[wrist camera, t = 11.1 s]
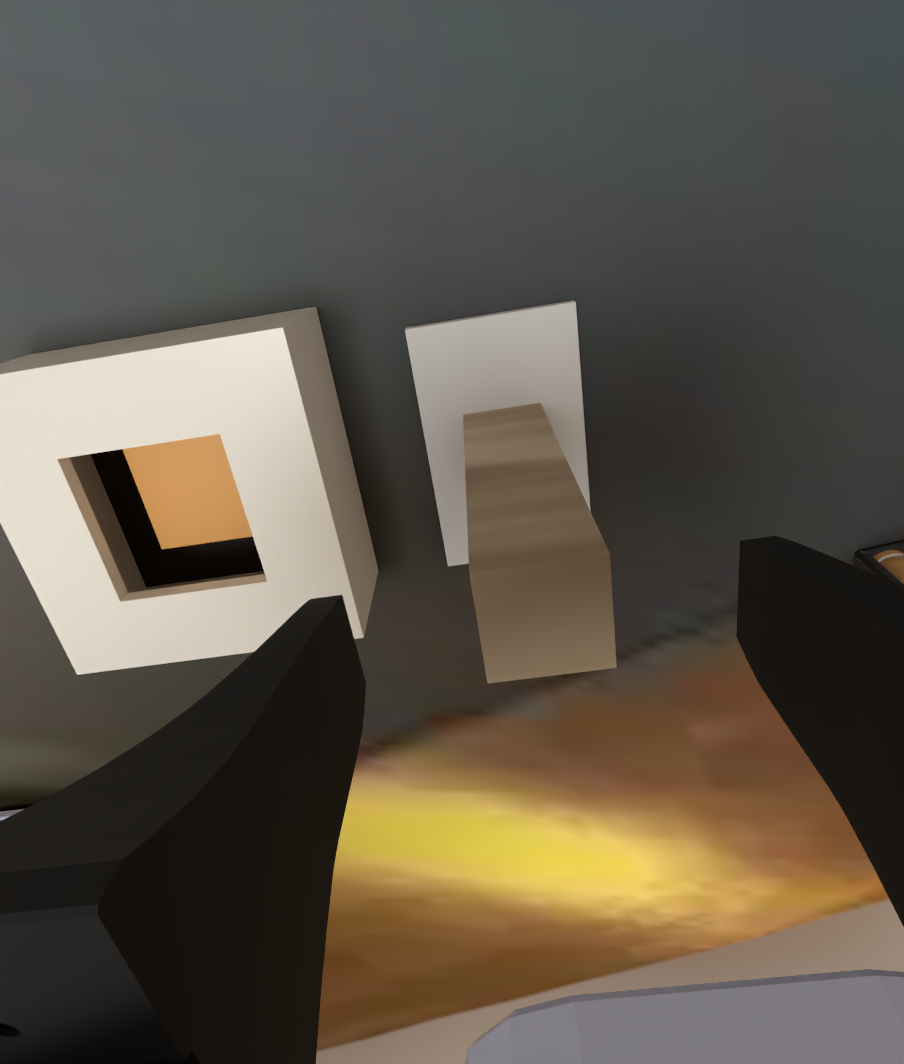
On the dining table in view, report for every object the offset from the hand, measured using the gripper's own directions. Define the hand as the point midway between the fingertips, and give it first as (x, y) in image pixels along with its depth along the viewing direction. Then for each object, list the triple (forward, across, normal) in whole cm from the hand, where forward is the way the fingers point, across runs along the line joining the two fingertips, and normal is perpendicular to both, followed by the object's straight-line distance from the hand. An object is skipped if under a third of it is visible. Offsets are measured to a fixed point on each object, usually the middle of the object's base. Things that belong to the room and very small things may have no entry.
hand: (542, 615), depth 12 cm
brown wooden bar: (+10, 0, 0) cm, 10 cm away
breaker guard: (+10, +10, 0) cm, 14 cm away
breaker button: (+10, +10, 0) cm, 14 cm away
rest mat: (+10, 0, 0) cm, 10 cm away
